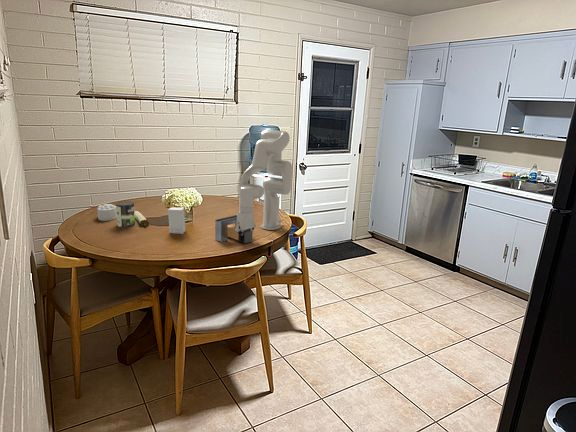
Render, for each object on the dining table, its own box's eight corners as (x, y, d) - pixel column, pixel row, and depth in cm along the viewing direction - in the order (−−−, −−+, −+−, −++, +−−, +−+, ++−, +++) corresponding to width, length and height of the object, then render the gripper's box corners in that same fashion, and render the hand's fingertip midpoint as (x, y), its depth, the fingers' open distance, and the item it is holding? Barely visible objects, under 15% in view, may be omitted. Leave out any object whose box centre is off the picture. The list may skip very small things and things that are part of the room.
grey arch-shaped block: (240, 233, 236) (240, 213, 233) (246, 235, 233) (246, 215, 230) (215, 239, 222) (215, 219, 219) (221, 242, 219) (221, 221, 216)
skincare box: (185, 231, 234) (185, 207, 230) (183, 234, 228) (182, 209, 224) (171, 230, 234) (170, 206, 230) (168, 234, 228) (167, 209, 224)
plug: (222, 230, 236) (222, 220, 235) (252, 241, 220) (252, 231, 218) (215, 232, 232) (215, 222, 231) (245, 243, 216) (245, 232, 215)
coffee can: (138, 224, 243) (137, 202, 239) (129, 229, 233) (127, 205, 229) (123, 222, 245) (122, 200, 241) (113, 227, 235) (111, 204, 231)
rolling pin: (150, 229, 236) (150, 221, 234) (140, 230, 233) (140, 222, 232) (139, 215, 262) (139, 208, 261) (130, 216, 259) (130, 209, 258)
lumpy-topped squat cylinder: (117, 215, 259) (117, 203, 257) (113, 221, 247) (112, 207, 244) (100, 215, 257) (99, 203, 254) (95, 221, 244) (94, 207, 242)
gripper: (252, 205, 224) (251, 235, 228) (229, 210, 211) (229, 242, 216) (262, 208, 219) (260, 239, 224) (238, 213, 206) (238, 245, 211)
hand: (245, 240), depth 220 cm, fingers closed on plug, 5 cm apart
